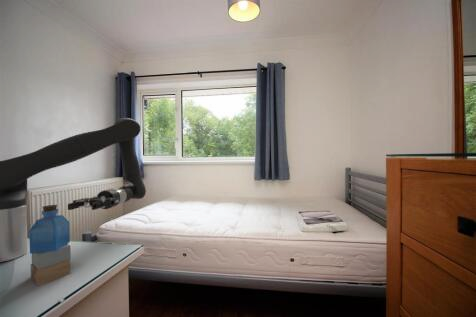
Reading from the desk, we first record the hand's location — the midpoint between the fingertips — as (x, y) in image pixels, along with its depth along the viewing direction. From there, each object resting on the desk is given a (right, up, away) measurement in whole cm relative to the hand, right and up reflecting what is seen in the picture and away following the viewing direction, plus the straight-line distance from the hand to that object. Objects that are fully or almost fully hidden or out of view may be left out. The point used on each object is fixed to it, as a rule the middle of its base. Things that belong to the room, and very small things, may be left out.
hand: (80, 207), depth 70 cm
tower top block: (0, -13, -10) cm, 17 cm away
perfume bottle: (-1, -9, -11) cm, 14 cm away
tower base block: (0, -17, -11) cm, 20 cm away
